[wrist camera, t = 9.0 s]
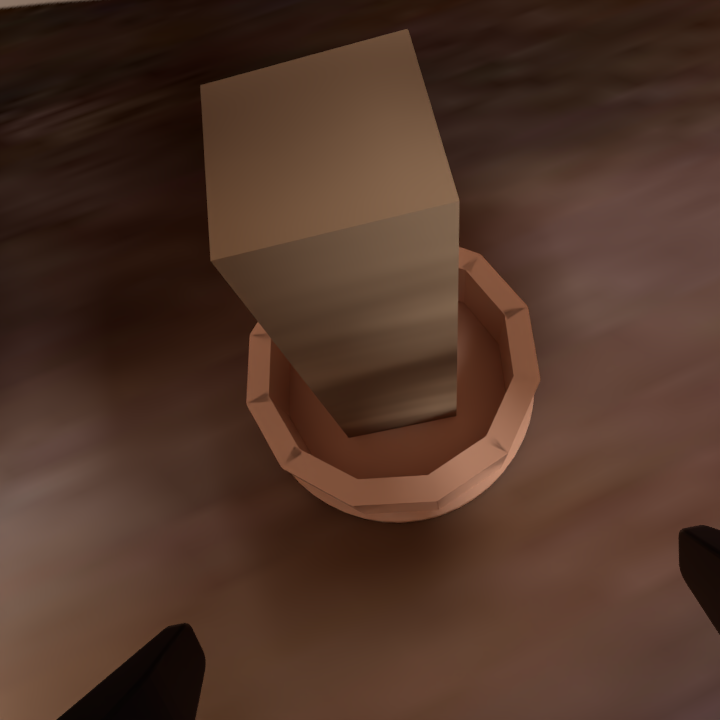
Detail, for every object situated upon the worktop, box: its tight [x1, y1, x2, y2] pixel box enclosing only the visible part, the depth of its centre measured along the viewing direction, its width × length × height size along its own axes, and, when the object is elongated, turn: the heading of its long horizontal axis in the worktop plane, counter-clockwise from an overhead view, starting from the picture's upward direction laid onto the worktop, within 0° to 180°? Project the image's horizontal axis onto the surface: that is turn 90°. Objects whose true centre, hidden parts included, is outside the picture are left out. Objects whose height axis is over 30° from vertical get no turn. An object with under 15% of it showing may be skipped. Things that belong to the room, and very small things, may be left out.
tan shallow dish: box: [246, 247, 540, 523], centre depth 19 cm, size 10×10×3 cm
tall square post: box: [200, 29, 459, 438], centre depth 14 cm, size 4×4×12 cm
